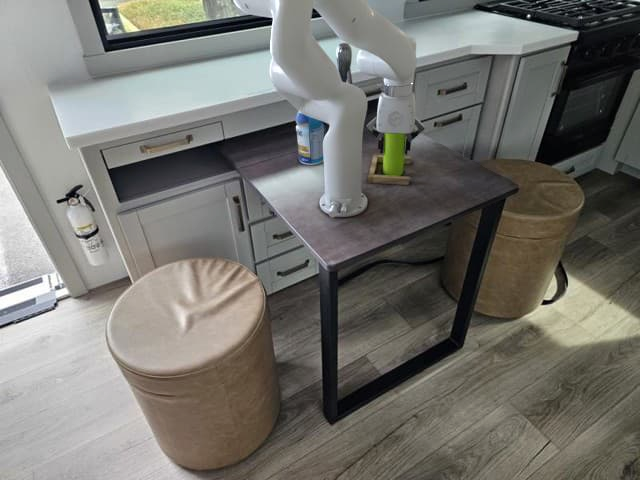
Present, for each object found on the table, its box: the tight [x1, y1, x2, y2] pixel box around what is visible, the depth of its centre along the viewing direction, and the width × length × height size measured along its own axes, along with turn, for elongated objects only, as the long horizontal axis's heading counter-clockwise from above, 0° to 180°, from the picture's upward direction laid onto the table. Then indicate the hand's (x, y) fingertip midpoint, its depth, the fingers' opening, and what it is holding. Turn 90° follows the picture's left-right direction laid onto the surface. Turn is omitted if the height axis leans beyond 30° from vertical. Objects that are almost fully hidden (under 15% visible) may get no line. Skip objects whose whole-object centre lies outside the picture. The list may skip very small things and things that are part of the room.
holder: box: [367, 153, 412, 186], centre depth 126 cm, size 14×11×2 cm
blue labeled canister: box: [295, 110, 325, 166], centre depth 129 cm, size 8×8×20 cm
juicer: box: [325, 42, 354, 135], centre depth 138 cm, size 10×11×30 cm
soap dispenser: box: [382, 133, 407, 176], centre depth 120 cm, size 6×7×20 cm
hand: (393, 151), depth 122 cm, fingers open, 6 cm apart
